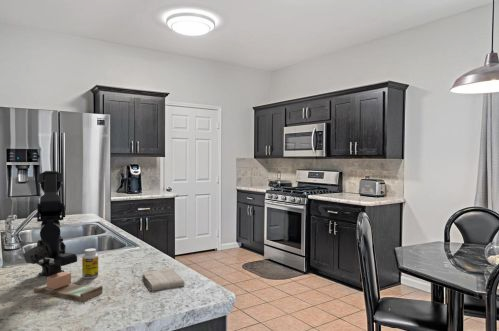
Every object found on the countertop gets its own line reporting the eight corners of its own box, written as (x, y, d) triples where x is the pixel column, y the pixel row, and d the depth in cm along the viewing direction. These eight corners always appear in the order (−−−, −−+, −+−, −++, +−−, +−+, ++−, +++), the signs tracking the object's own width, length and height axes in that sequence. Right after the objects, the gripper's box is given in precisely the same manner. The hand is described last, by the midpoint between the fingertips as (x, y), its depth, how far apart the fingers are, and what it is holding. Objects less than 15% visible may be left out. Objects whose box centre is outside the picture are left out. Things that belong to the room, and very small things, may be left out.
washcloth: (171, 273, 142) (171, 265, 142) (186, 287, 126) (186, 278, 126) (140, 278, 136) (140, 269, 136) (151, 293, 121) (151, 283, 121)
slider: (46, 287, 120) (46, 276, 120) (62, 281, 125) (62, 271, 125) (55, 289, 118) (55, 278, 118) (70, 283, 124) (70, 273, 124)
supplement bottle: (83, 280, 132) (83, 252, 132) (81, 276, 137) (81, 249, 137) (99, 277, 136) (99, 250, 135) (96, 273, 140) (96, 247, 140)
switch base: (33, 291, 121) (33, 284, 121) (55, 283, 128) (55, 277, 128) (82, 301, 112) (82, 294, 112) (102, 292, 120) (102, 286, 120)
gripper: (8, 238, 119) (9, 285, 120) (48, 243, 112) (48, 294, 112) (40, 232, 130) (40, 276, 130) (78, 236, 122) (78, 283, 122)
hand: (50, 282), depth 123 cm, fingers closed
